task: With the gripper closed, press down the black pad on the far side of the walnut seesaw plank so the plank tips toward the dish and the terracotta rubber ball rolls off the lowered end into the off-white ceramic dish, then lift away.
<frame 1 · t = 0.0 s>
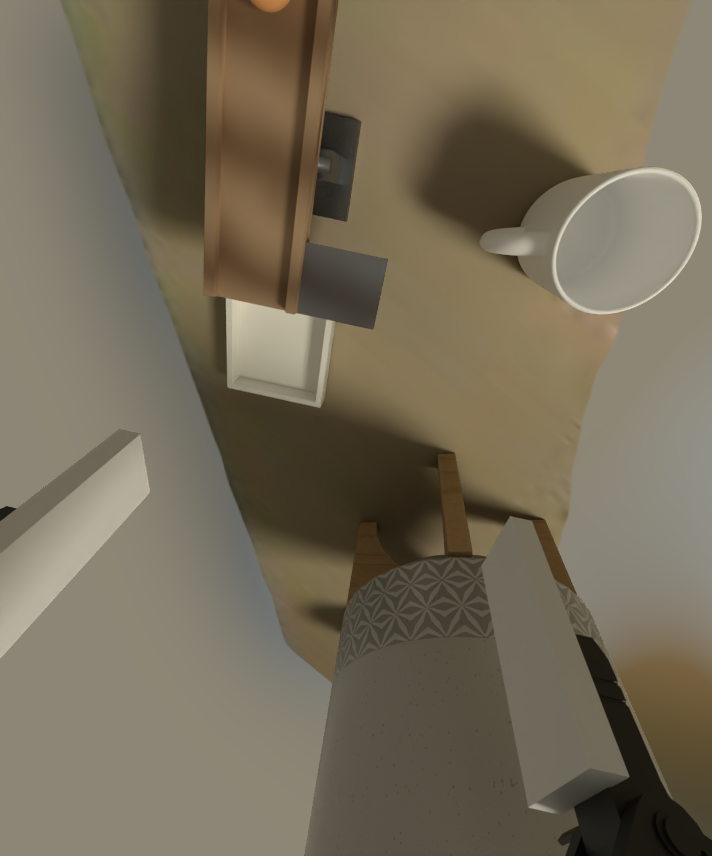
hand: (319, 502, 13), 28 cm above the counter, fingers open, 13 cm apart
planter: (448, 525, 51), on the counter
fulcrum: (296, 162, 31), on the counter
plank: (306, 154, 24), point 9 cm above the counter, hinge at -8.0°, touching ball
dish: (283, 344, 40), on the counter
mug: (541, 234, 32), on the counter
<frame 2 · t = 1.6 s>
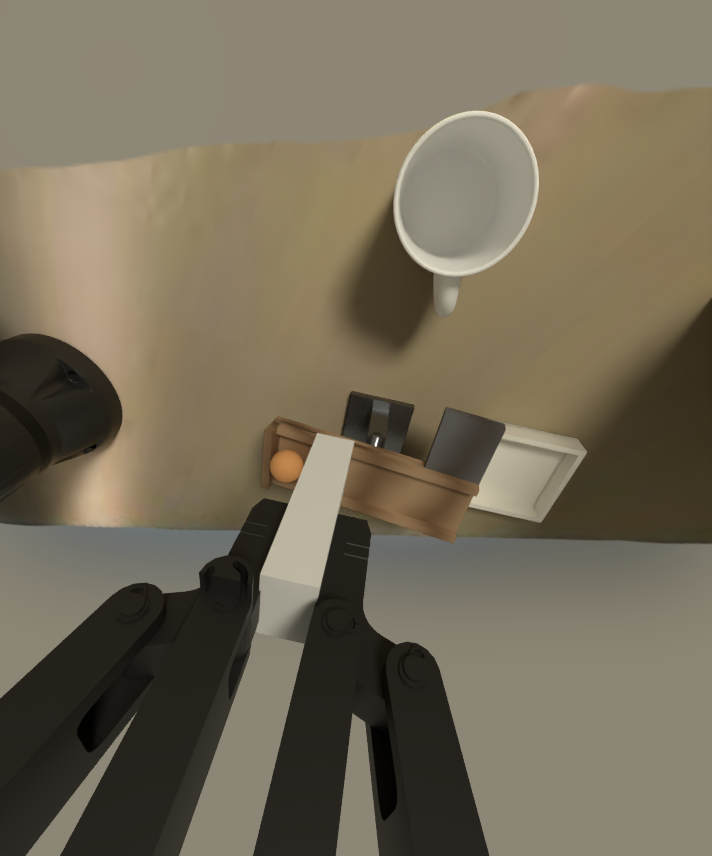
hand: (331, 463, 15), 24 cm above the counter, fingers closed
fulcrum: (373, 435, 43), on the counter
plank: (370, 458, 34), point 9 cm above the counter, hinge at -8.0°, touching ball
ball: (286, 465, 35), point 9 cm above the counter, tilted 12°, touching plank
dish: (510, 465, 43), on the counter
mug: (444, 227, 31), on the counter
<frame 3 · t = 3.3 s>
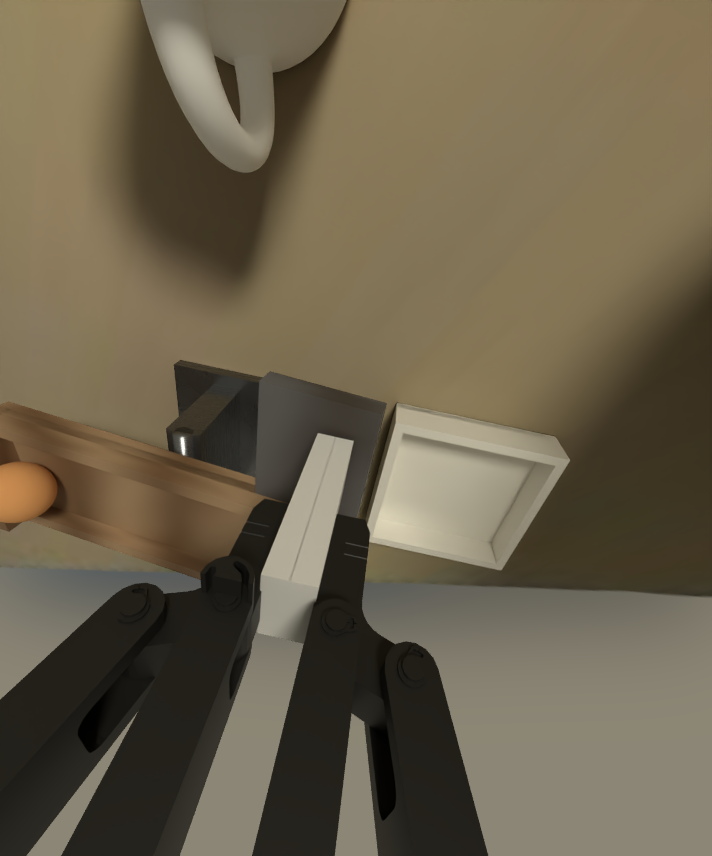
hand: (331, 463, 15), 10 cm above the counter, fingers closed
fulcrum: (232, 432, 27), on the counter
plank: (155, 476, 18), point 9 cm above the counter, hinge at -6.7°, touching ball, gripper
ball: (18, 491, 19), point 9 cm above the counter, tilted 11°, touching plank
dish: (450, 480, 27), on the counter
mug: (266, 7, 15), on the counter
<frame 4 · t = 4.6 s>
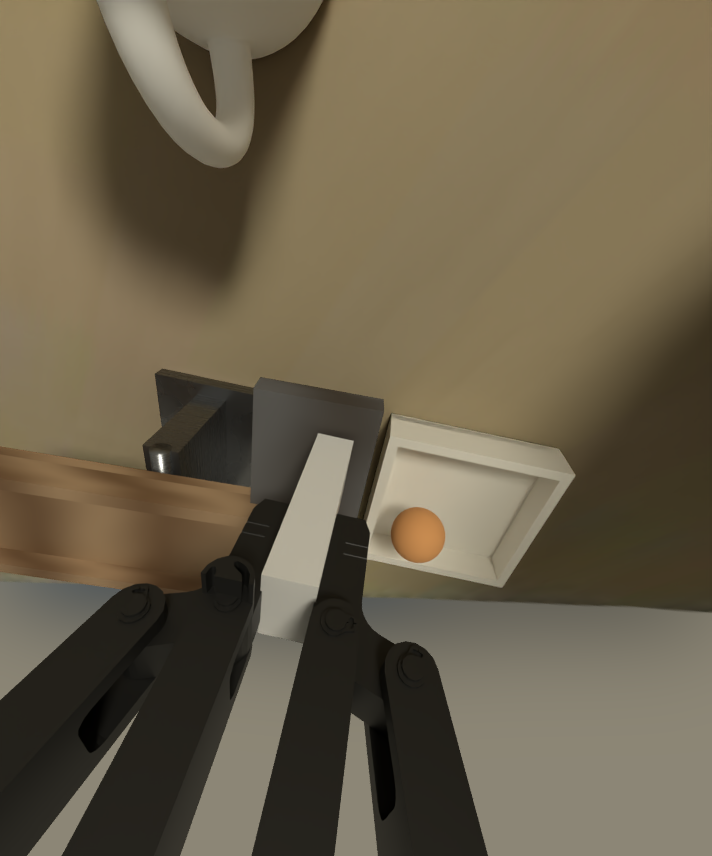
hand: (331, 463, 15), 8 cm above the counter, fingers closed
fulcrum: (218, 444, 26), on the counter
plank: (136, 500, 17), point 9 cm above the counter, hinge at 3.9°, touching gripper
ball: (417, 534, 22), point 4 cm above the counter, tilted 50°
dish: (448, 493, 26), on the counter
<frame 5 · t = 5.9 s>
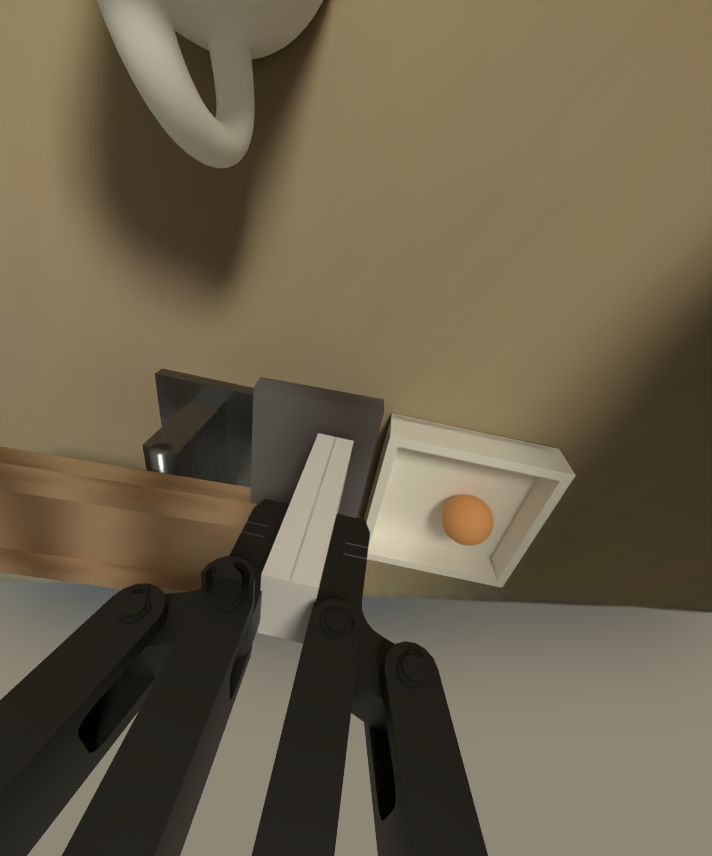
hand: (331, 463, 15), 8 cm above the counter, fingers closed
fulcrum: (218, 444, 26), on the counter
plank: (136, 500, 17), point 9 cm above the counter, hinge at 3.9°, touching gripper
ball: (467, 519, 24), point 2 cm above the counter, tilted 153°, touching dish
dish: (448, 493, 26), on the counter
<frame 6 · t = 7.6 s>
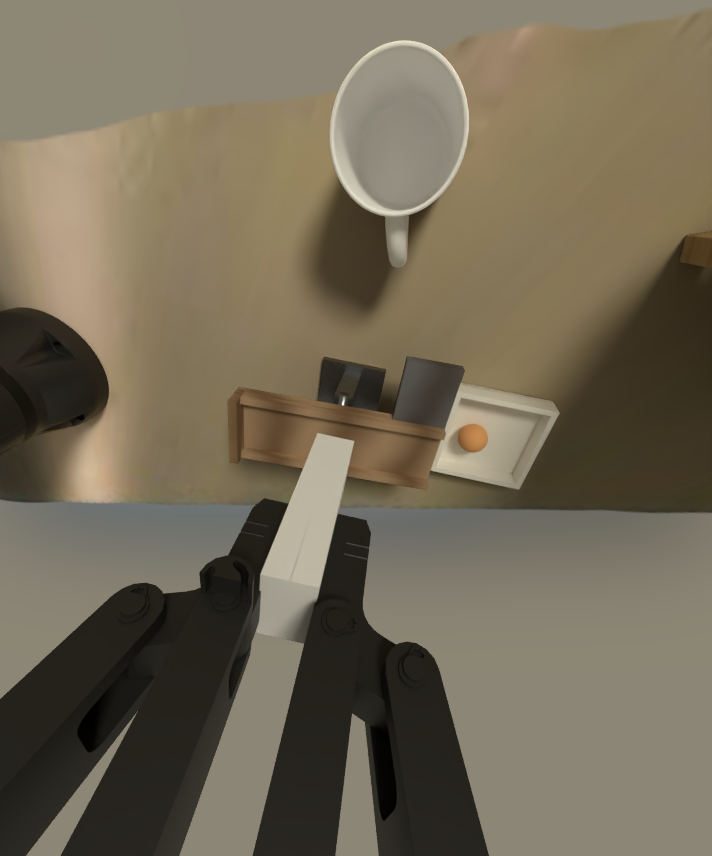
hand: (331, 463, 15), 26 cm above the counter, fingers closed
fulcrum: (348, 402, 43), on the counter
plank: (339, 417, 34), point 9 cm above the counter, hinge at 3.9°
ball: (472, 438, 41), point 2 cm above the counter, tilted 105°, touching dish
dish: (486, 431, 43), on the counter
mug: (402, 183, 32), on the counter
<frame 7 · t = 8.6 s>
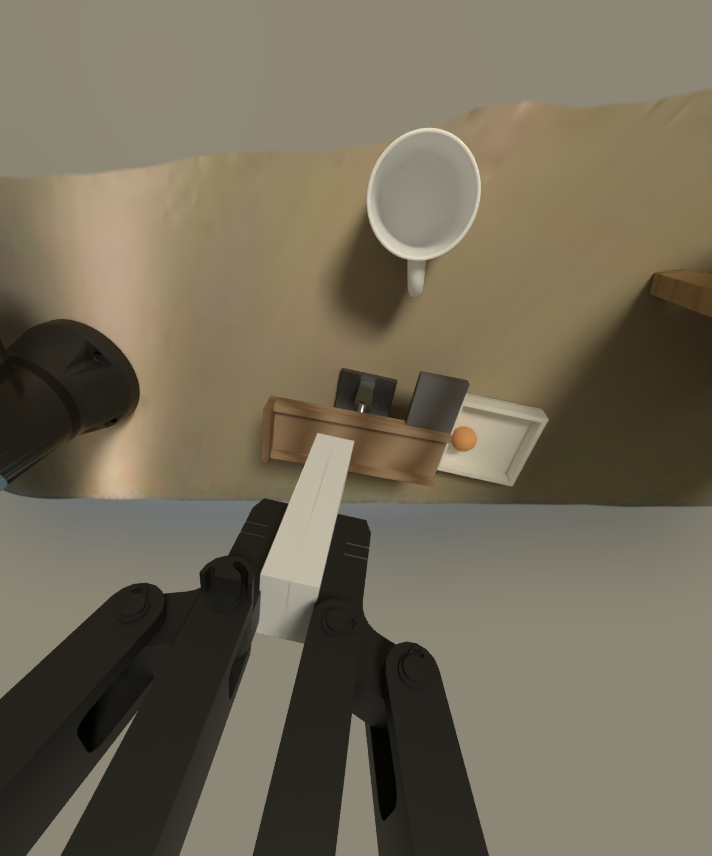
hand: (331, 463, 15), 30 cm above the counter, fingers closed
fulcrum: (362, 408, 48), on the counter
plank: (359, 423, 39), point 9 cm above the counter, hinge at 3.9°
ball: (463, 439, 46), point 2 cm above the counter, tilted 63°, touching dish
dish: (484, 434, 48), on the counter
mug: (417, 222, 37), on the counter
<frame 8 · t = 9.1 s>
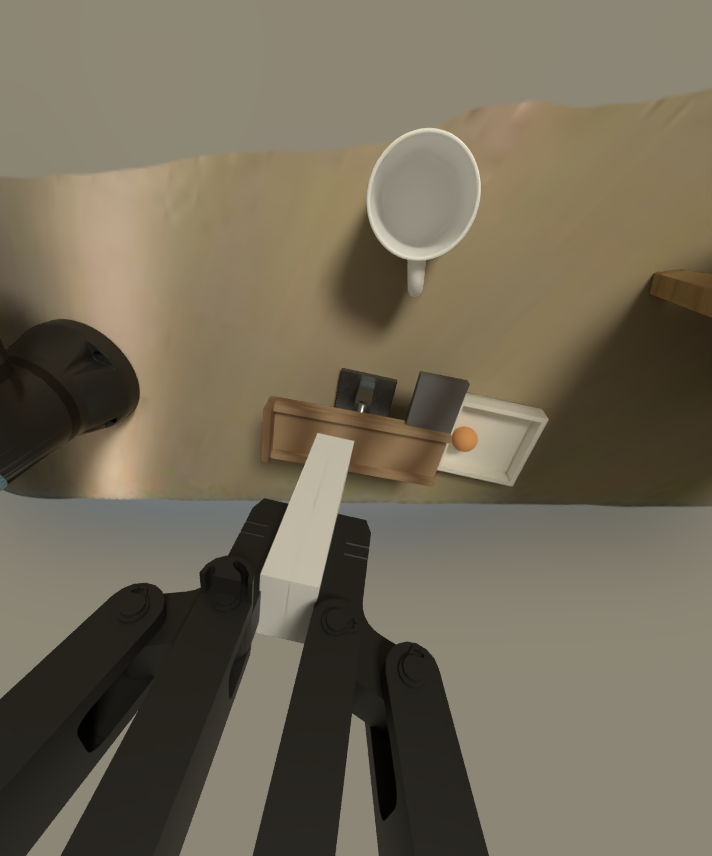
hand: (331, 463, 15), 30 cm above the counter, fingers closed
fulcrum: (362, 408, 48), on the counter
plank: (359, 423, 39), point 9 cm above the counter, hinge at 3.9°
ball: (464, 439, 46), point 2 cm above the counter, tilted 66°, touching dish
dish: (484, 434, 48), on the counter
mug: (417, 222, 37), on the counter
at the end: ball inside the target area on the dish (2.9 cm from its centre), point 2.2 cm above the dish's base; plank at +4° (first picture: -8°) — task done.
